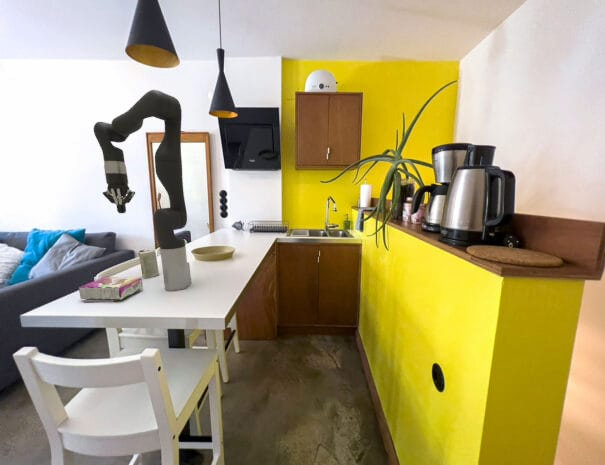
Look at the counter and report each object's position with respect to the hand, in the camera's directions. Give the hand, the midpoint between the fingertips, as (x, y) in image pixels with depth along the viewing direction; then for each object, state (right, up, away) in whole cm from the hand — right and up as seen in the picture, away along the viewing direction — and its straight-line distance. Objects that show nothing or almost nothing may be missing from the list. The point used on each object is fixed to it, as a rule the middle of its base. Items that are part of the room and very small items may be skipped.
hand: (122, 213), depth 105 cm
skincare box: (+7, -30, +9) cm, 32 cm away
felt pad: (+5, -33, -11) cm, 35 cm away
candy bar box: (-2, -30, -12) cm, 32 cm away
